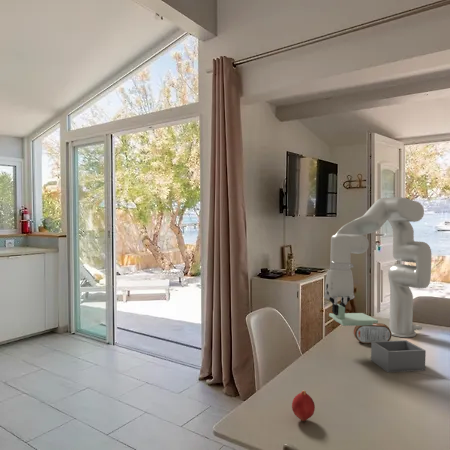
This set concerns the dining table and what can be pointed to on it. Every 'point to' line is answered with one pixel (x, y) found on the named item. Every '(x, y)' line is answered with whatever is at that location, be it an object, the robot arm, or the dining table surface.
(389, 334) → the tin
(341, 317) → the lid
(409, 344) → the tub
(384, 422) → the dining table surface
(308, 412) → the onion
